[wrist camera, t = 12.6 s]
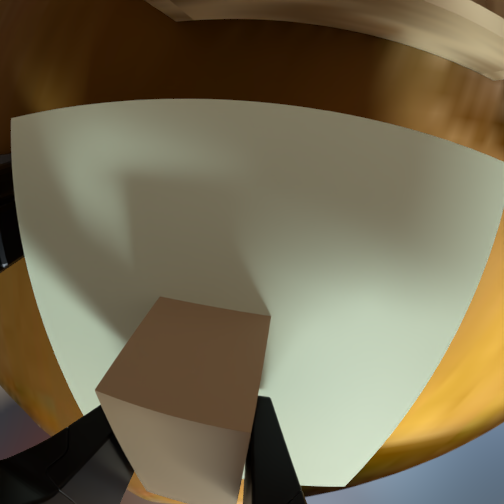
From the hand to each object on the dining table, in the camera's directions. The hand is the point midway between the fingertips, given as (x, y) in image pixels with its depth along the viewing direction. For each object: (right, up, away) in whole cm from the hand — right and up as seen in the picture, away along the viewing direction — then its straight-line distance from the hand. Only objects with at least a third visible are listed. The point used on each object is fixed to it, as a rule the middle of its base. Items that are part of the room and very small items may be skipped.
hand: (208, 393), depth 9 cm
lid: (0, +1, +2) cm, 2 cm away
